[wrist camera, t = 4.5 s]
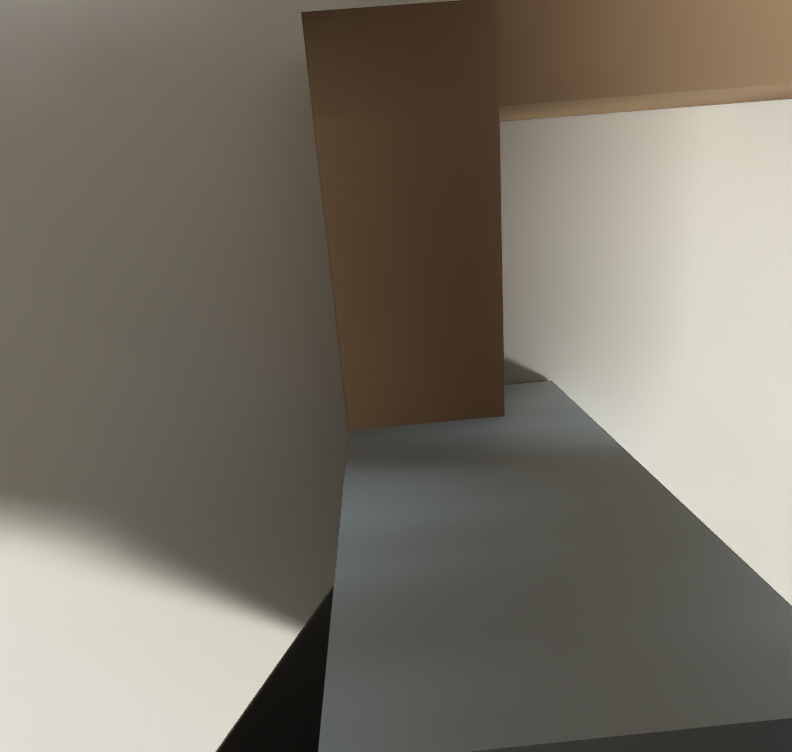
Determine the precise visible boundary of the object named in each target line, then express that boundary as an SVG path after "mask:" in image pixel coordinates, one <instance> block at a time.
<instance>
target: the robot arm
mask: <svg viewBox="0 0 792 752" xmlns="http://www.w3.org/2000/svg"><path fill="white" fill-rule="evenodd" d="M333 590H334V586H333V587H332V588H331V589H330V590H329V592H328V593H327V595H326V596H325V597H324V599H323V600H322V602H321V603H320V605H319V606H318V607H317V609H316V610H315V612H314V613H313V614H312V616H311V617H310V619H309V620H308V622H307V623H306V624H305V626H304V627H303V629H302V630H301V631H300V633H299V634H298V636H297V637H296V639H295V640H294V641H293V643H292V644H291V646H290V647H289V648H288V650H287V651H286V653H285V654H284V656H283V657H282V658H281V660H280V661H279V663H278V664H277V666H276V667H275V668H274V670H273V671H272V673H271V674H270V675H269V677H268V678H267V680H266V681H265V683H264V684H263V685H262V687H261V688H260V690H259V691H258V692H257V694H256V695H255V697H254V698H253V700H252V701H251V702H250V704H249V705H248V707H247V708H246V709H245V711H244V712H243V714H242V715H241V717H240V718H239V719H238V721H237V722H236V724H235V725H234V726H233V728H232V729H231V731H230V732H229V734H228V735H227V736H226V738H225V739H224V741H223V742H222V743H221V745H220V746H219V748H218V749H217V751H216V752H318V748H319V737H320V727H321V716H322V706H323V695H324V685H325V674H326V664H327V653H328V642H329V632H330V621H331V611H332V600H333Z"/></svg>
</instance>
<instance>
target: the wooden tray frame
mask: <svg viewBox="0 0 792 752" xmlns="http://www.w3.org/2000/svg"><path fill="white" fill-rule="evenodd" d="M301 13H302V22H303V31H304V40H305V49H306V58H307V67H308V75H309V84H310V93H311V102H312V111H313V120H314V128H315V137H316V146H317V155H318V164H319V173H320V182H321V190H322V199H323V208H324V217H325V226H326V235H327V243H328V252H329V261H330V270H331V279H332V288H333V297H334V305H335V314H336V323H337V332H338V341H339V350H340V359H341V367H342V376H343V385H344V394H345V403H346V412H347V420H348V429H349V431H348V442H347V453H346V463H345V474H344V484H343V495H342V505H341V516H340V526H339V537H338V548H337V558H336V569H335V579H334V590H333V600H332V611H331V621H330V632H329V642H328V653H327V664H326V674H325V685H324V695H323V706H322V716H321V727H320V737H319V748H318V752H792V606H791V605H790V604H789V603H788V602H787V601H786V600H785V599H784V598H783V597H782V596H781V595H779V594H778V593H777V592H776V591H775V590H774V589H773V588H772V587H771V586H770V585H769V584H768V583H767V582H766V581H765V580H763V579H762V578H761V577H760V576H759V575H758V574H757V573H756V572H755V571H754V570H753V569H752V568H751V567H750V566H749V565H747V564H746V563H745V562H744V561H743V560H742V559H741V558H740V557H739V556H738V555H737V554H736V553H735V552H734V551H733V550H731V549H730V548H729V547H728V546H727V545H726V544H725V543H724V542H723V541H722V540H721V539H720V538H719V537H718V536H717V535H715V534H714V533H713V532H712V531H711V530H710V529H709V528H708V527H707V526H706V525H705V524H704V523H703V522H702V521H701V520H699V519H698V518H697V517H696V516H695V515H694V514H693V513H692V512H691V511H690V510H689V509H688V508H687V507H686V506H685V505H684V504H682V503H681V502H680V501H679V500H678V499H677V498H676V497H675V496H674V495H673V494H672V493H671V492H670V491H669V490H668V489H666V488H665V487H664V486H663V485H662V484H661V483H660V482H659V481H658V480H657V479H656V478H655V477H654V476H653V475H652V474H650V473H649V472H648V471H647V470H646V469H645V468H644V467H643V466H642V465H641V464H640V463H639V462H638V461H637V460H636V459H634V458H633V457H632V456H631V455H630V454H629V453H628V452H627V451H626V450H625V449H624V448H623V447H622V446H621V445H620V444H618V443H617V442H616V441H615V440H614V439H613V438H612V437H611V436H610V435H609V434H608V433H607V432H606V431H605V430H604V429H602V428H601V427H600V426H599V425H598V424H597V423H596V422H595V421H594V420H593V419H592V418H591V417H590V416H589V415H588V414H586V413H585V412H584V411H583V410H582V409H581V408H580V407H579V406H578V405H577V404H576V403H575V402H574V401H573V400H572V399H570V398H569V397H568V396H567V395H566V394H565V393H564V392H563V391H562V390H561V389H560V388H559V387H558V386H557V385H556V384H554V383H553V382H552V381H542V382H531V383H520V384H509V385H504V352H503V296H502V239H501V183H500V126H499V121H512V120H525V119H538V118H550V117H563V116H576V115H589V114H602V113H614V112H627V111H640V110H653V109H666V108H678V107H691V106H704V105H717V104H730V103H742V102H755V101H768V100H781V99H792V0H461V1H448V2H434V3H420V4H407V5H393V6H379V7H365V8H352V9H338V10H324V11H311V12H301Z"/></svg>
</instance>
